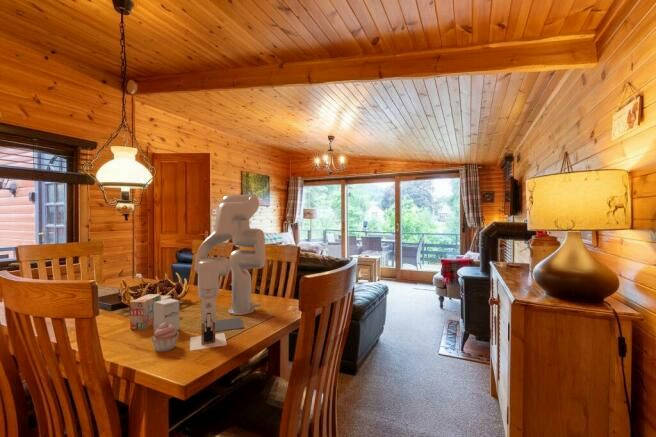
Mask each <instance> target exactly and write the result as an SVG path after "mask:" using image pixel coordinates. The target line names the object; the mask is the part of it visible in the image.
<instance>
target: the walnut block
mask: <svg viewBox="0 0 656 437" xmlns="http://www.w3.org/2000/svg"><path fill="white" fill-rule="evenodd" d="M206 323H207V321H206ZM200 325H201V326H200V330H201V331H200V336H201V344H208V343H215V334H216V332H215V322H213V321H212V330H213V341H209V342H204V331H205V324H203V320H202V318H201V322H200ZM206 326H207V325H206Z"/></svg>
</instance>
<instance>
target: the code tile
mask: <svg viewBox="0 0 656 437" xmlns="http://www.w3.org/2000/svg"><path fill="white" fill-rule="evenodd" d="M226 338H227V337H226V335H225V333H224V332H220V333H215V343H208V344H201V335H199V336H198V335H197V336H193V337H190V338H189V351H196V350H197V351H198V350H203V349H210V348H217V347H222V346H223V347H224V346H228V343H227V339H226Z"/></svg>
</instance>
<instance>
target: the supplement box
mask: <svg viewBox="0 0 656 437" xmlns="http://www.w3.org/2000/svg"><path fill="white" fill-rule="evenodd" d="M165 322H167V323H168V324H171V325H173V326H174V328H175V329H176V330H177V331H178V330H180V300H179V299H174V298H172V299H165V300H161V301H157V302H154V324H153V332H155V331H156V330H157V329H158V328H159V326H160V325H161V324H162V323H165Z"/></svg>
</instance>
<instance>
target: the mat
mask: <svg viewBox="0 0 656 437" xmlns="http://www.w3.org/2000/svg"><path fill="white" fill-rule="evenodd" d="M241 329H242V330H243V329H245V326H244V323H243V320H242V319H241V317H235V318H234V317H233V318H226V319H216V323H215V333H217V332H225V331H227V332H228V331H232V330H234V331H235V330H241Z"/></svg>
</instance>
